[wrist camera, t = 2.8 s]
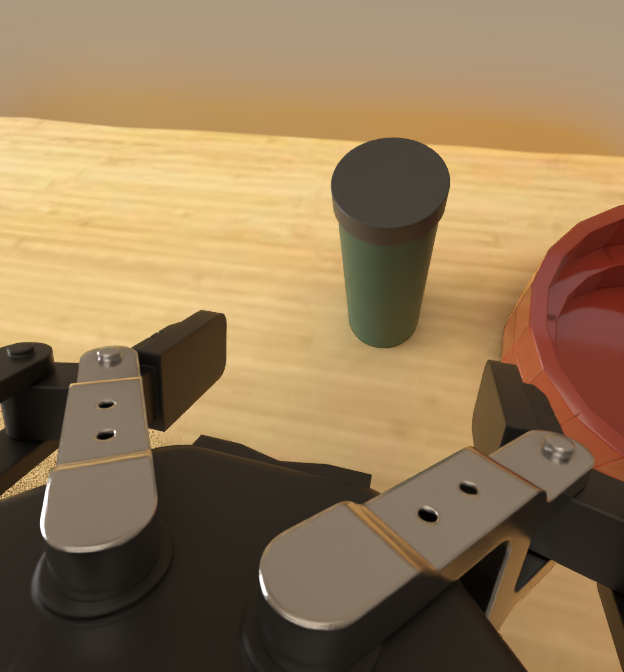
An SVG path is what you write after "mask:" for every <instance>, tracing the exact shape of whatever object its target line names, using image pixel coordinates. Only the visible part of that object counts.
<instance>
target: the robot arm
mask: <svg viewBox="0 0 624 672" xmlns="http://www.w3.org/2000/svg"><path fill="white" fill-rule="evenodd" d="M226 332H227V322H226V317H225V315H224V314H222V313H216V312H211V311H205V310H200V311H198V312H196V313H195V314H193V315H191V316H190V317H188V318H187V319H185V320H183V321H182V322H179V323H176V324H172V325H169V326H167V327H165V328H164V329H162V330H160V331H159V333H155V334H154V335H152V336H151V337H150V338H147V339H145V340H143V341H142V342H140V343H138V344H137V345H135V346H133V347H132V348H129V347H124V346H106V347H100V348H96V349H93V350H90V351H88V352H86V353H84V354H83V355H82V356H81V358H80V363H61V362H54V357H53V351H52V347H51V346H49V345H47V344H44V343H37V342H22V343H16V344H12V345H8V346H5V347H2V348H0V405H1V409H2V414H3V419H4V424H5V428H4V429H2V430H1V431H0V495H2V494H3V493H4V492H5V491H6V490H8V489H9V488H10V487H11V486H13V485H14V484H15V483H16V482H17V481H19V480H20V479H21V478H22V477H24V476H25V475H26V474H27V473H29V472H30V471H31V470H32V469H33V468H35V467H36V466H37V465H38V464H40V463H41V462H42V461H43V460H44V459H46V458H47V457H48V456H49V455H51V454H52V453H53V452H54V451H55V450H57V449H58V448H59V450H58V456H57V462H56V466H55V467H52V468H51V469H50V472H49V476H48V481H47V484H46V485H43V486H40V487H37V488H34V489H31V490H28V491H25V492H22V493H19V494H16V495H13V496H10V497H7V498H4V499H1V500H0V672H528V671H527V670H526V668H525V667H524V666H523V664H522V663H521V662H520V661H519V659H518V658H517V657H516V655H515V654H514V653H513V651H512V650H511V649H510V647H509V646H508V645H507V643H506V642H505V641H504V639H503V638H502V637H501V635H500V634H499V633H498V631H499V629H500V627H501V625H502V624H503V622H504V620H505V618H506V617H507V615H508V614H509V613H510V611H511V610H512V609H513V608H514V607H515V606H516V605H517V604H518V603H519V602H520V601H521V600H522V599H523V598H524V597H525V596H526V595H527V594H528V593H529V592H530V591H531V589H532V588H533V587H534V586H535V585H536V584H537V583H538V582H539V581H540V580H541V579H542V578H543V577H544V576H545V575H546V574H547V573H548V572H549V571H550V570H551V569H552V568H553V567H554V565H555V563H556V562H557V563H559V564H561V565H563V566H565V567H567V568H569V569H571V570H573V571H575V572H577V573H579V574H581V575H583V576H585V577H588V578H590V579H592V580H594V581H596V582H597V588H598V592H599V595H600V598H601V602H602V605H603V608H604V612H605V615H606V618H607V622H608V625H609V628H610V632H611V635H612V638H613V641H614V645H615V648H616V651H617V655H618V658H619V661H620V665H621V668H622V671H623V672H624V482H623V481H621V480H618V479H616V478H613V477H610V476H608V475H606V474H603V473H601V472H599V471H597V470H595V469H594V468H593V466H594V463H595V459H594V456H593V455H592V453H591V452H590V451H589V450H588V449H587V448H586V447H585V446H583V445H582V444H581V443H579V442H578V441H576V440H574V439H572V438H570V437H568V436H565V435H564V432H563V430H562V428H561V426H560V424H559V422H558V420H557V417H556V416H555V413H554V411H553V409H552V407H551V405H550V402H549V400H548V398H547V396H546V395H545V394H544V393H543V392H542V391H541V390H539V389H538V388H537V387H536V386H535V385H532V384H527V383H523V380H522V378H521V375H520V373H519V370H518V368H517V365H516V364H510V363H504V362H498V361H493V360H488V361H487V363H486V365H485V368H484V372H483V376H482V380H481V384H480V388H479V392H478V396H477V400H476V404H475V408H474V413H473V419H472V434H473V442H474V447H471V446H469V447H466V448H464V449H462V450H460V451H458V452H456V453H454V454H453V455H451V456H449V457H447V458H445V459H444V460H442V461H440V462H438V463H436V464H434V465H433V466H431V467H429V468H427V469H425V470H424V471H422V472H420V473H418V474H416V475H415V476H413V477H411V478H409V479H407V480H405V481H404V482H402V483H400V484H398V485H396V486H395V487H393V488H391V489H389V490H387V491H385V492H384V493H382V494H381V493H379V492H377V491H375V490H373V489H371V488H370V483H371V477H372V475H371V474H367V473H362V472H358V471H354V470H350V469H345V468H341V467H337V466H333V465H328V464H316V463H300V462H285V461H279V460H276V459H273V458H271V457H269V456H267V455H264V454H262V453H260V452H258V451H256V450H253V449H251V448H249V447H247V446H244V445H242V444H239V443H235V442H231V441H227V440H222V439H218V438H214V437H210V436H205V435H201V436H200V437H199V438H198V439H197V440H196V441H195V442H194V443H193V445H172V446H164V447H158V448H154V449H151V448H150V440H149V432H148V428H150V429H154V430H158V431H162V432H165V431H166V430H167V429H168V428H169V427H170V426H171V425H172V424H173V423H174V422H175V421H176V420H177V419H178V418H179V417H180V416H181V415H182V414H183V413H185V412H186V411H187V410H188V409H189V408H190V407H191V406H192V405H193V404H194V403H195V402H196V401H197V400H198V399H199V398H200V397H201V396H202V395H203V394H204V393H205V392H206V391H207V390H208V389H209V388H210V387H211V386H212V385H213V384H214V383H215V382H216V381H217V380H218V379H219V378H220V377H221V376H222V374H223V372H224V369H225V365H226Z"/></svg>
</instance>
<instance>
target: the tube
mask: <svg viewBox="0 0 624 672" xmlns="http://www.w3.org/2000/svg"><path fill="white" fill-rule="evenodd" d="M449 188H450V175H449V172H448V168H447V166H446V164H445V162H444V161H443V159H442V158H441V157H440V156H439V155H438V154H437V153H436V152H435V151H434V150H432V149H431V148H429V147H428V146H426V145H424V144H422V143H420V142H417V141H414V140H410V139H404V138H382V139H377V140H372V141H369V142H366V143H364V144H362V145H360V146H357V147H356V148H354V149H353V150H351V151H350V152H349V153H347V154H346V155H345V156H344V157H343V158H342V159H341V161H340V162H339V163H338V165H337V166H336V168H335V170H334V173H333V175H332V180H331V192H332V200H333V208H334V213H335V216H336V218H337V220H338V222H339V231H340V240H341V249H342V259H343V268H344V277H345V286H346V295H347V304H348V314H349V322H350V326H351V328H352V331H353V332H354V334H355V335H356V336H357V337H358V338H359V339H360V340H361V341H363V342H364V343H366V344H368V345H371V346H374V347H379V348H388V347H393V346H397V345H399V344H401V343H403V342H405V341H406V340H407V339H408V338H409V337H410V336H411V335H412V334H413V332H414V331H415V329H416V326H417V323H418V318H419V313H420V309H421V304H422V299H423V294H424V289H425V284H426V280H427V275H428V270H429V265H430V260H431V255H432V251H433V246H434V241H435V236H436V231H437V226H438V222H439V221H440V219H441V218H442V215H443V213H444V210H445V206H446V202H447V197H448V193H449Z"/></svg>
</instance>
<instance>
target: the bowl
mask: <svg viewBox="0 0 624 672" xmlns="http://www.w3.org/2000/svg"><path fill="white" fill-rule="evenodd" d="M501 362H504V363H510V364H516V365H517V368H518V370H519V373H520V375H521V378H522V380H523V383H527V384H532V385H535V386H536V387H537V388H538V389H539V390H541V391H542V392H543V393H544V394H545V395H546V396H547V398H548V400H549V402H550V405H551V407H552V409H553V411H554V413H555V416H556V417H557V420H558V422H559V424H560V426H561V428H562V430H563V432H564V435H565V436H568V437H570V438H572V439H574V440H576V441H578V442H579V443H581V444H582V445H583V446H585V447H586V448H587V449H588V450H589V451H590V452H591V453H592V455H593V456H594V459H595V463H594V466H593V468H594V469H595V470H597V471H599V472H601V473H603V474H606V475H608V476H610V477H613V478H616V479H618V480H621V481H623V482H624V205H620V206H617V207H615V208H612V209H610V210H608V211H605V212H603V213H600V214H598V215H596V216H593V217H591V218H589V219H586V220H584V221H581V222H580V223H578V224H577V225H575V226H574V227H573V228H572V229H571V230H570V231H569V232H568V233H566V234H565V235H564V236H563V237H562V238H561V239H560V240H558V241H557V242H556V243H555V244H554V245H553V246H552V247H551V248H550V249H549V250H548V251H547V253H546V255H545V256H544V258H543V260H542V261H541V263H540V265H539V266H538V268H537V270H536V271H535V273H534V274H533V276H532V278H531V279H530V281H529V283H528V284H527V286H526V288H525V289H524V291H523V292H522V294H521V296H520V297H519V299H518V301H517V303H516V305H515V307H514V309H513V311H512V313H511V315H510V317H509V319H508V321H507V323H506V325H505V328H504V336H503V348H502V359H501Z"/></svg>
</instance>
